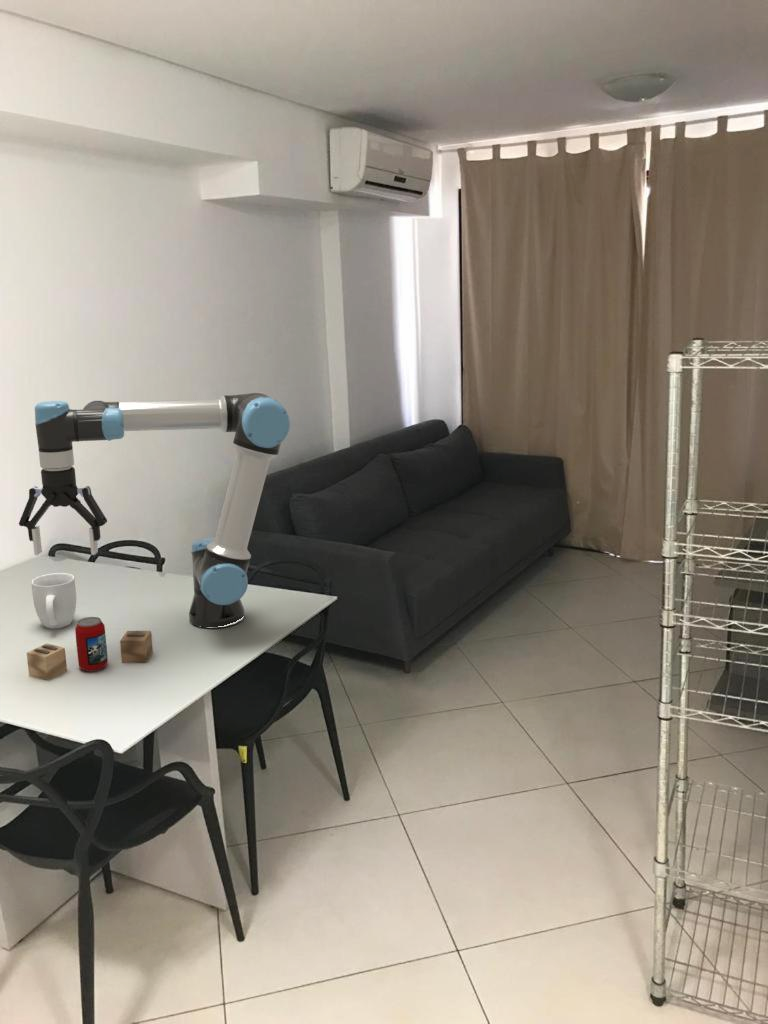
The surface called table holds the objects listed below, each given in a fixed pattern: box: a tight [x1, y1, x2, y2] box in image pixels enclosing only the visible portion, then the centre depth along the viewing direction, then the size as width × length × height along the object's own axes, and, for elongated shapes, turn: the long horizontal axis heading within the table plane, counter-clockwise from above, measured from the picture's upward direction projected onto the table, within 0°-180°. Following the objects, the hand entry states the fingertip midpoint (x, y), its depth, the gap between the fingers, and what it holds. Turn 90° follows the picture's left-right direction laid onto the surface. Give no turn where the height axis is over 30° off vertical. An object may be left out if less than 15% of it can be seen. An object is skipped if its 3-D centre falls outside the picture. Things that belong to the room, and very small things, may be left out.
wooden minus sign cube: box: [119, 630, 154, 664], centre depth 207 cm, size 6×6×6 cm
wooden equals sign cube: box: [26, 642, 68, 681], centre depth 199 cm, size 6×6×6 cm
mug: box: [31, 572, 77, 630], centre depth 225 cm, size 15×11×13 cm
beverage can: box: [74, 616, 109, 672], centre depth 201 cm, size 7×7×12 cm
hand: (66, 553), depth 202 cm, fingers open, 13 cm apart
